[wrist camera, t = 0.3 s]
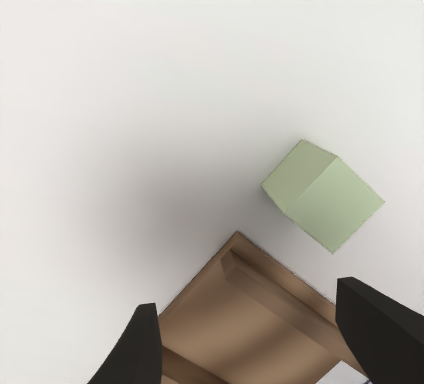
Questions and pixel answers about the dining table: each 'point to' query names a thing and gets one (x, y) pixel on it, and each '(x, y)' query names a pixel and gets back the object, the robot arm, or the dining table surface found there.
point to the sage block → (321, 195)
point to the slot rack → (249, 325)
